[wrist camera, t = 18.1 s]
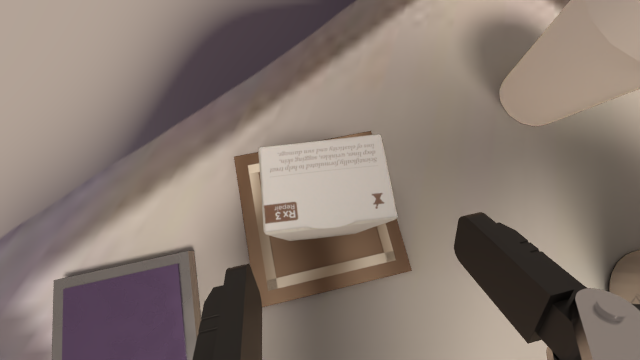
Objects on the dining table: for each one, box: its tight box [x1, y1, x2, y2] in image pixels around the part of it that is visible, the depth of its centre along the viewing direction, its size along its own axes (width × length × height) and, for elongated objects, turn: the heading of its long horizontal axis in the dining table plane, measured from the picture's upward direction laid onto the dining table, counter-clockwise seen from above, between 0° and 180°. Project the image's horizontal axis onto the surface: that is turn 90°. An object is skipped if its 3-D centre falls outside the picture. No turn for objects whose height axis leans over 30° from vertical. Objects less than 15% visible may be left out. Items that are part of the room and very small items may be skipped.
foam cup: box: [499, 0, 640, 126], centre depth 22 cm, size 10×9×13 cm
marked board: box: [234, 131, 412, 307], centre depth 24 cm, size 13×13×1 cm
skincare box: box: [258, 134, 398, 241], centre depth 18 cm, size 6×4×12 cm
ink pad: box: [52, 251, 201, 360], centre depth 21 cm, size 10×10×1 cm
